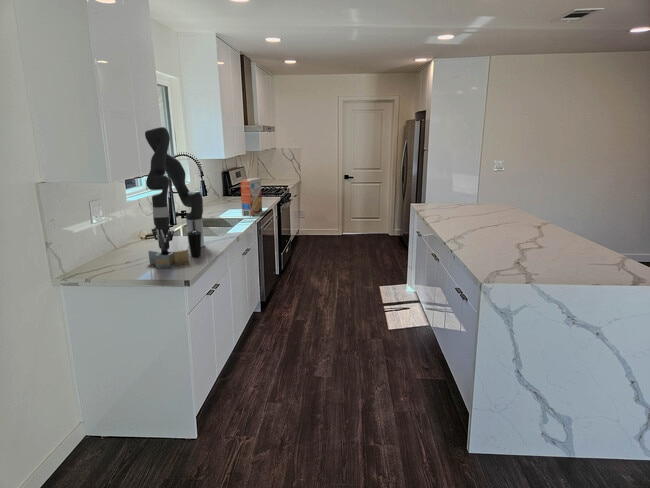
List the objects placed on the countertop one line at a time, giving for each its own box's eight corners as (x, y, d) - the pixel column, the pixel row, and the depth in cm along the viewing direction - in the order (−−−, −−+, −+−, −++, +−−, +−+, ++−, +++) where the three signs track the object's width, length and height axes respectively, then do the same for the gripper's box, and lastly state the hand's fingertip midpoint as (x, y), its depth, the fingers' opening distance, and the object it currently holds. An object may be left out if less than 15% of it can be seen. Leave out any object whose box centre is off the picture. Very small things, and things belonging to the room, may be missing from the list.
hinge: (153, 261, 228) (152, 248, 226) (189, 262, 226) (188, 249, 224) (142, 267, 217) (141, 254, 215) (180, 268, 215) (179, 255, 213)
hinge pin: (163, 256, 220) (161, 230, 216) (169, 256, 219) (167, 230, 216) (160, 258, 217) (158, 231, 213) (166, 258, 216) (164, 231, 213)
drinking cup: (205, 256, 237) (203, 221, 232) (193, 259, 231) (190, 223, 226) (198, 254, 242) (195, 219, 237) (186, 256, 236) (183, 221, 231)
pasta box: (251, 217, 353) (249, 180, 345) (242, 216, 355) (240, 180, 347) (262, 212, 374) (260, 178, 367) (253, 211, 376) (252, 177, 369)
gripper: (145, 215, 212) (148, 248, 217) (165, 217, 206) (168, 252, 211) (156, 213, 219) (160, 245, 223) (177, 215, 213) (180, 248, 217)
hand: (164, 248), depth 217 cm, fingers closed on hinge pin, 3 cm apart
